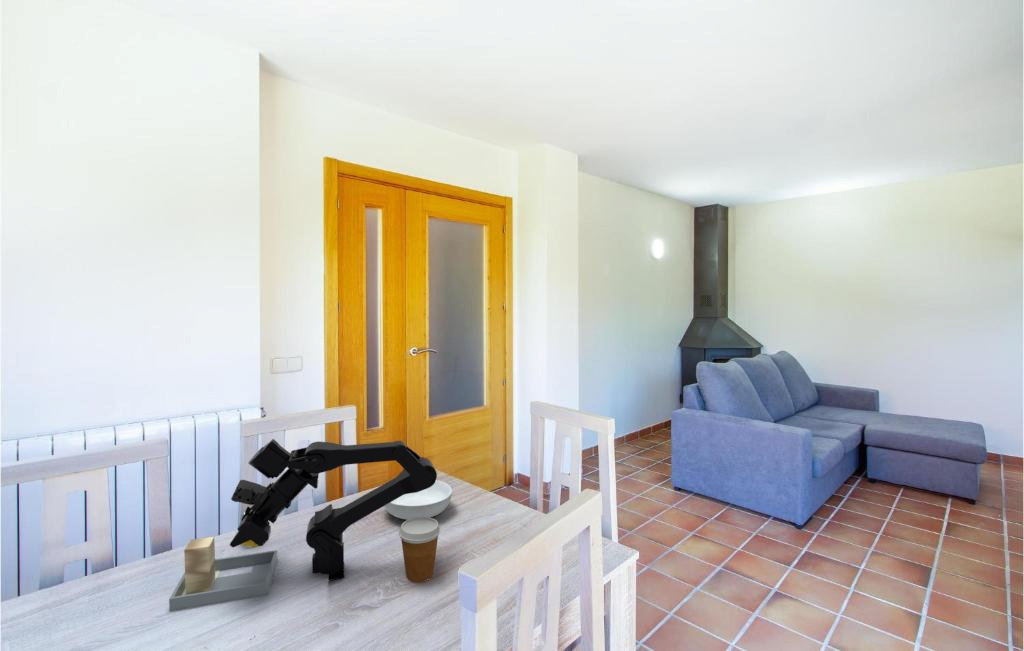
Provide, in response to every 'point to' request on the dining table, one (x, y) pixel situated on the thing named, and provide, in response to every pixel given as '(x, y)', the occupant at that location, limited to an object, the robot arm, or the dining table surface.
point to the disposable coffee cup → (419, 547)
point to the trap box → (230, 582)
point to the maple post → (199, 565)
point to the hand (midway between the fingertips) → (231, 545)
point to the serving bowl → (421, 502)
